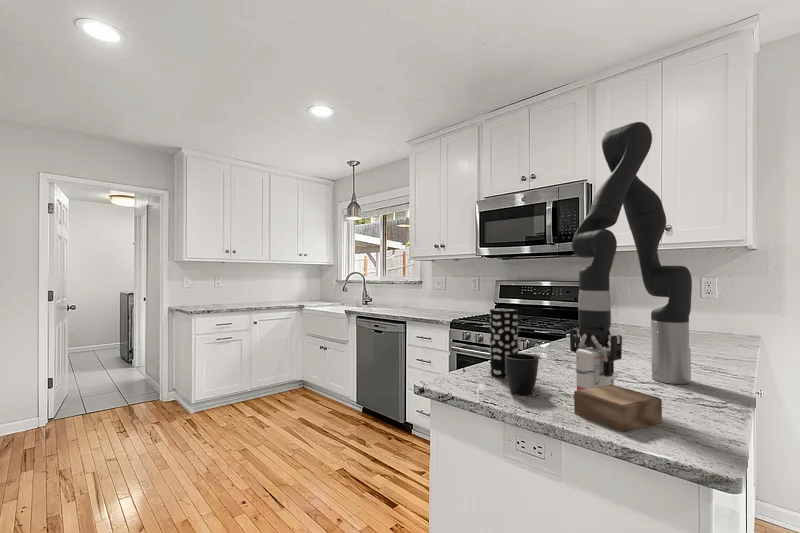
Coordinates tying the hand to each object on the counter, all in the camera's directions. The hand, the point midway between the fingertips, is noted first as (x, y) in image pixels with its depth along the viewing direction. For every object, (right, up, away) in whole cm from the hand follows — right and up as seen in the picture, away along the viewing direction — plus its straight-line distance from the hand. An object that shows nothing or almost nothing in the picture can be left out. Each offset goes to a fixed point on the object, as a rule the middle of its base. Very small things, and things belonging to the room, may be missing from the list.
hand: (594, 372), depth 105 cm
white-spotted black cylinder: (-18, -6, +22) cm, 29 cm away
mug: (-16, -6, +4) cm, 18 cm away
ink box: (0, -6, 0) cm, 6 cm away
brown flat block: (-3, -6, -16) cm, 17 cm away
